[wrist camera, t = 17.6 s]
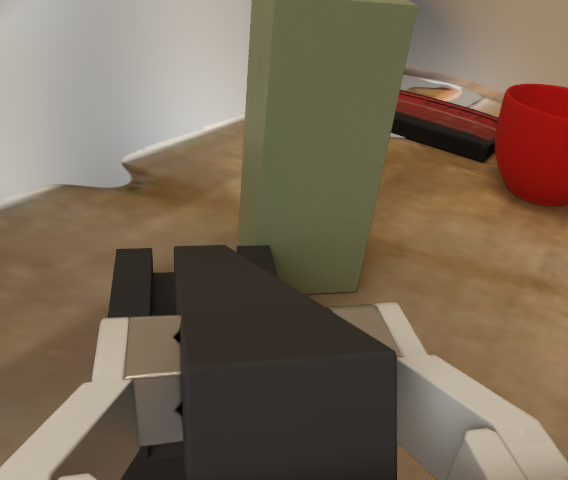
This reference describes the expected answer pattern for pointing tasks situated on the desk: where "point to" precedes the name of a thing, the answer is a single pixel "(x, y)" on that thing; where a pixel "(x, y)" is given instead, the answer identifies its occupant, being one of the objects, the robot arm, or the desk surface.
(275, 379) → the pad strip
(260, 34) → the stand
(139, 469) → the dock pad
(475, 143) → the binder
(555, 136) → the ceramic cup
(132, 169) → the desk surface
